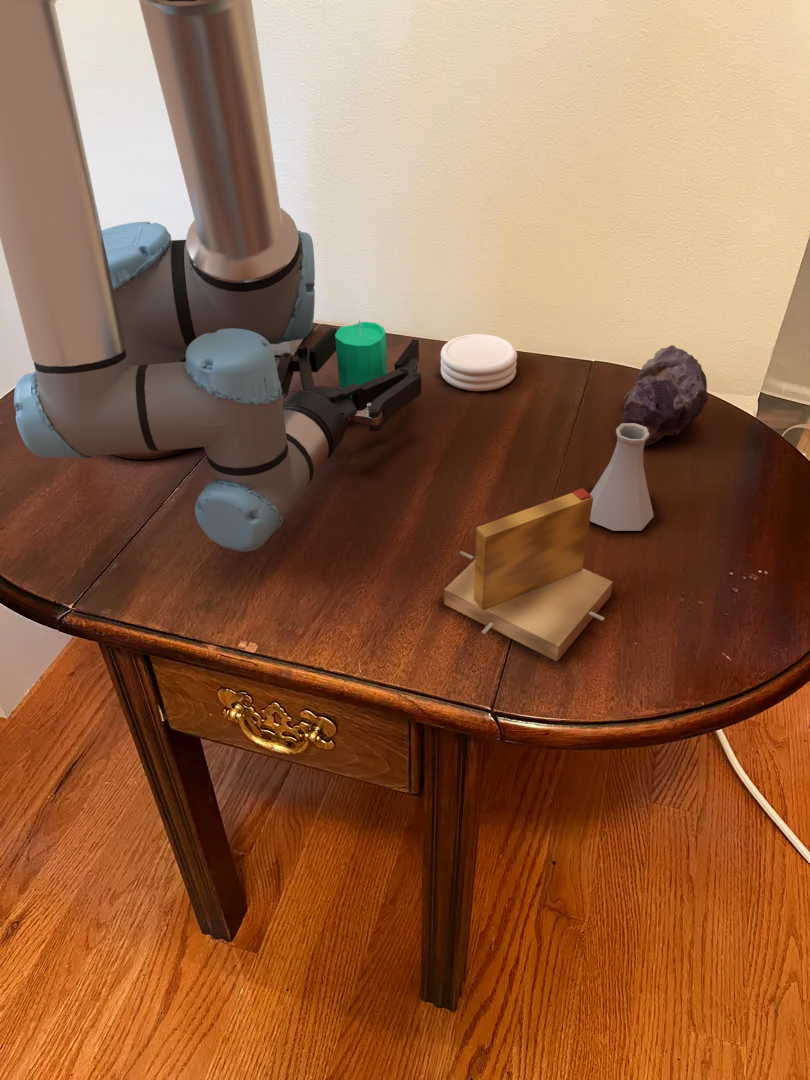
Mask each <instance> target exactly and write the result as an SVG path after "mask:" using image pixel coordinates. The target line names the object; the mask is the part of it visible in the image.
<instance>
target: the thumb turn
mask: <svg viewBox="0 0 810 1080" xmlns="http://www.w3.org/2000/svg"><path fill="white" fill-rule="evenodd" d="M592 504H593V497H592V496H591V495H590V493H589V492H588V491H587V490H585V488H584V487H581V488H579V489H575V490H573V491H572V492H570V493H567V494H565V495H562V496H559V497H556V498H554V499H550V500H548V501H545V502H543V503H539V504H537V505H533V506H532V507H529V508H526V509H523V510H519V511H518V512H515V513H512V514H509V515H507V516H504V517H501V518H498V519H495V520H493V521H490V522H486V523H485V524H482V525H478V526H477V527H476V532H475V553H474V554H475V555H474V560H475V577H474V601H475V602H476V603H477V605H478V606H479V607H480V608H481V609H482V610H483V609H486V608H488V607H491V606H493V605H496V604H498V603H501V602H503V601H506V600H508V599H511V598H513V597H516V596H518V595H521V594H523V593H526V592H528V591H531V590H533V589H536V588H538V587H541V586H543V585H546V584H548V583H551V582H553V581H556V580H558V579H561V578H563V577H566V576H568V575H571V574H573V573H576V572H578V571H581V570H582V569H583V568H584V561H585V555H586V549H587V542H588V535H589V528H590V522H591V521H590V517H591V510H592Z"/></svg>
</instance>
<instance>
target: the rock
mask: <svg viewBox="0 0 810 1080" xmlns="http://www.w3.org/2000/svg"><path fill="white" fill-rule="evenodd" d="M623 400H624V405H623V409H622V412H623V415H622V416H623V417H622V423H636V424H639V425H641V426H644V427H647V429H648V432H649V438H648V439H647V440H646V441H645V443H644V446H649V445H652V444H655V443H657V442H659V441H661V439H662V438H663V437H666V436H675V435H678V434H679V433H680V432H682V430H683V428H684V427H685V426H687V425H688V424H690V423H693V422H694V420H696V419H697V418H698V417H699V416H700V414H701V412H702V411H703V410H704V407H705V405H706V403H707V402H708V401H709V396H708V382H707V376H706V374H705V372H704V371H703V369H702V365H701V363H699V360H698V359H696V358H695V357H694V356H693V355H692V354H689V353H688V352H687V351H686V350H685V349H682V348H678V347H676V345H673V344H671V345H669V346H667V347H661V348H660V349H658V351H656V352H655V353H654V357H652V358H650V359H648V360H646V363H644V364H643V365H642V366H641V369H640V370H639V372H638V373H637V375H636V379H635V382H634V385H633V386H632V388H631V389H630V390H629V391H627V392H626V393H625V395H624V398H623ZM622 423H621V424H622Z"/></svg>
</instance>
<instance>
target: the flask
mask: <svg viewBox="0 0 810 1080" xmlns="http://www.w3.org/2000/svg"><path fill="white" fill-rule="evenodd" d="M615 434H616V438H617V440H616V445H615V448H614V450H613V453H612V456H611V458H610V460H609V463H608V465H606V467H605V469H604V471H603V473H602V475H601V476H600V477H599V479H598V481H597V482H596V484H595V485H594V487H593V489H592V490H591V492H590V493H589V494H590V495H591V496H592V497H593V504H592V510H591V517H590V522H591V523H593V524H596V525H598V526H601V527H604V528H606V529H608V530H610V531H612V532H618V531H619V532H620V531H622V532H624V531H625V532H626V531H627V532H629V531H630V532H631V531H633V532H634V531H643V530H644V529H645V527H646V526H647V525H648V524H649V523H650V521H651V520H652V519H653V518H654V516H655V515H654V510H653V506H652V502H651V498H650V493H649V489H648V484H647V479H646V474H645V467H644V450H645V445H644V443H645V441H646V440H647V439H648V438H649V432H648V429H647V427H644V426H641V425H639V424H636V423H620V425H619V426H617V427H616V428H615Z"/></svg>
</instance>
